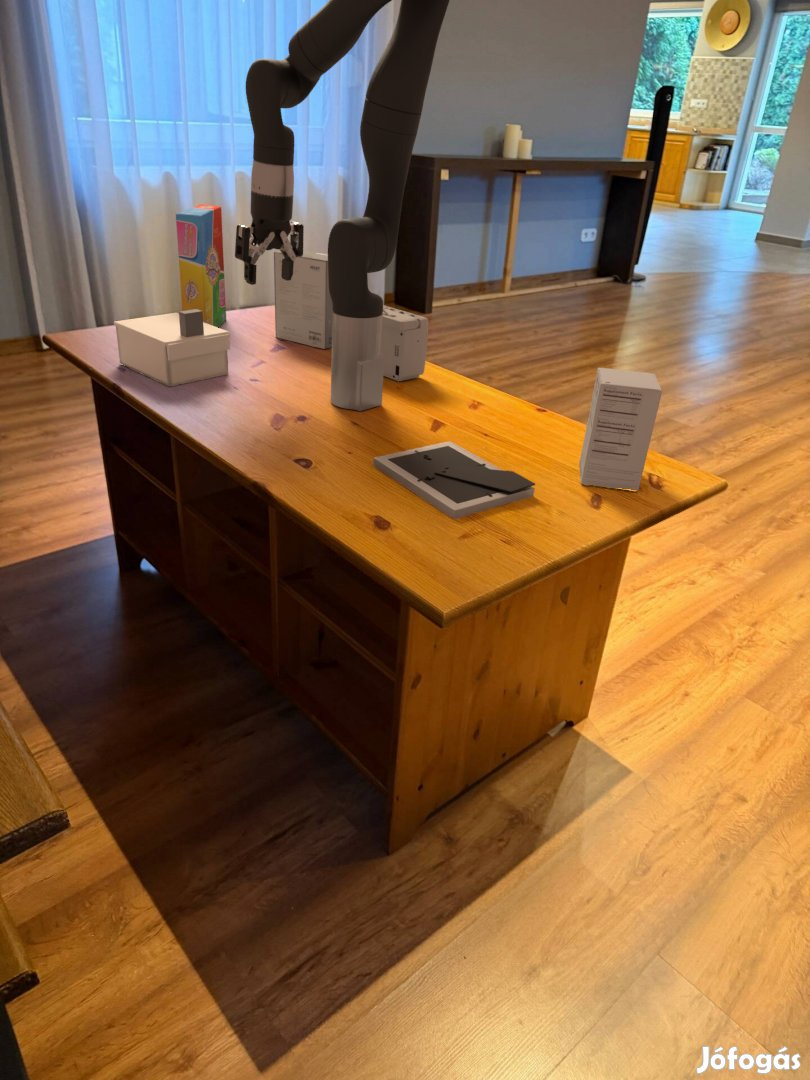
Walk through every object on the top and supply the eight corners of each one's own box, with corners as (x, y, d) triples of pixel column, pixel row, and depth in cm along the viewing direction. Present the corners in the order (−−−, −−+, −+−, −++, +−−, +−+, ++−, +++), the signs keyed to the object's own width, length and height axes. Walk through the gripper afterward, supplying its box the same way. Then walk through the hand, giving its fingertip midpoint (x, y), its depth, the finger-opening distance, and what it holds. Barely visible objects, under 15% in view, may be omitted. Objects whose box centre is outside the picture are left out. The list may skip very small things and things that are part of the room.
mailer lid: (231, 348, 155) (229, 309, 151) (168, 361, 145) (164, 319, 141) (177, 328, 165) (174, 291, 161) (115, 338, 155) (111, 298, 152)
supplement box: (639, 493, 120) (664, 390, 112) (579, 486, 121) (600, 383, 113) (633, 469, 128) (656, 372, 120) (578, 462, 129) (597, 365, 121)
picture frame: (532, 500, 117) (448, 452, 131) (535, 483, 116) (450, 436, 130) (453, 523, 109) (372, 469, 123) (455, 505, 107) (373, 453, 122)
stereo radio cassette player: (425, 378, 165) (434, 282, 155) (399, 385, 159) (406, 286, 149) (359, 355, 177) (362, 265, 167) (332, 360, 171) (334, 268, 161)
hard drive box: (344, 344, 183) (347, 257, 174) (325, 350, 178) (326, 261, 168) (294, 331, 190) (293, 247, 180) (273, 337, 184) (272, 250, 175)
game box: (206, 341, 178) (199, 215, 165) (183, 339, 178) (174, 213, 164) (226, 319, 196) (221, 205, 183) (205, 318, 196) (198, 203, 183)
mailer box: (228, 374, 158) (226, 335, 154) (169, 387, 148) (165, 346, 144) (178, 353, 168) (175, 316, 164) (120, 364, 158) (115, 325, 154)
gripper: (253, 195, 130) (251, 291, 139) (316, 193, 139) (310, 283, 148) (226, 186, 134) (226, 279, 143) (289, 185, 143) (285, 272, 152)
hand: (268, 281), depth 145 cm, fingers open, 8 cm apart
